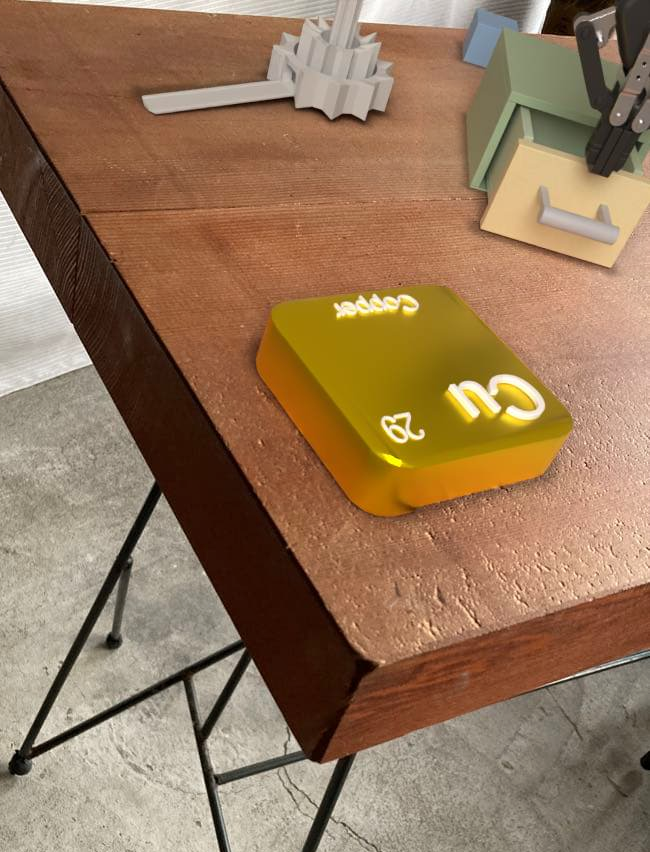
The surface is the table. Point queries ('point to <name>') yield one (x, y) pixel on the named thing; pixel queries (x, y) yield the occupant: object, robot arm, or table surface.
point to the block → (484, 36)
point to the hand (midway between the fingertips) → (597, 170)
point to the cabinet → (529, 94)
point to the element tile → (409, 396)
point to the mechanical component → (307, 72)
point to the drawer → (561, 190)
